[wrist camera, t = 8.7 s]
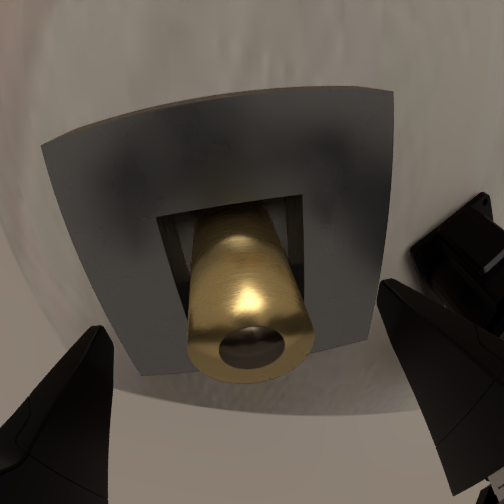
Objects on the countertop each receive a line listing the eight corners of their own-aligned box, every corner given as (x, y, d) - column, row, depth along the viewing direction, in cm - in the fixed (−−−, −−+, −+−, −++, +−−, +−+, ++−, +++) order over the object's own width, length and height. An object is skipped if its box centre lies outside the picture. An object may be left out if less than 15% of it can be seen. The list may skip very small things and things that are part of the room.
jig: (348, 303, 17) (366, 339, 15) (147, 335, 17) (141, 376, 14) (356, 86, 11) (393, 91, 8) (74, 129, 10) (40, 145, 8)
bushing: (285, 232, 14) (334, 347, 8) (227, 273, 15) (240, 396, 9) (240, 177, 13) (269, 276, 7) (178, 224, 13) (159, 346, 8)
